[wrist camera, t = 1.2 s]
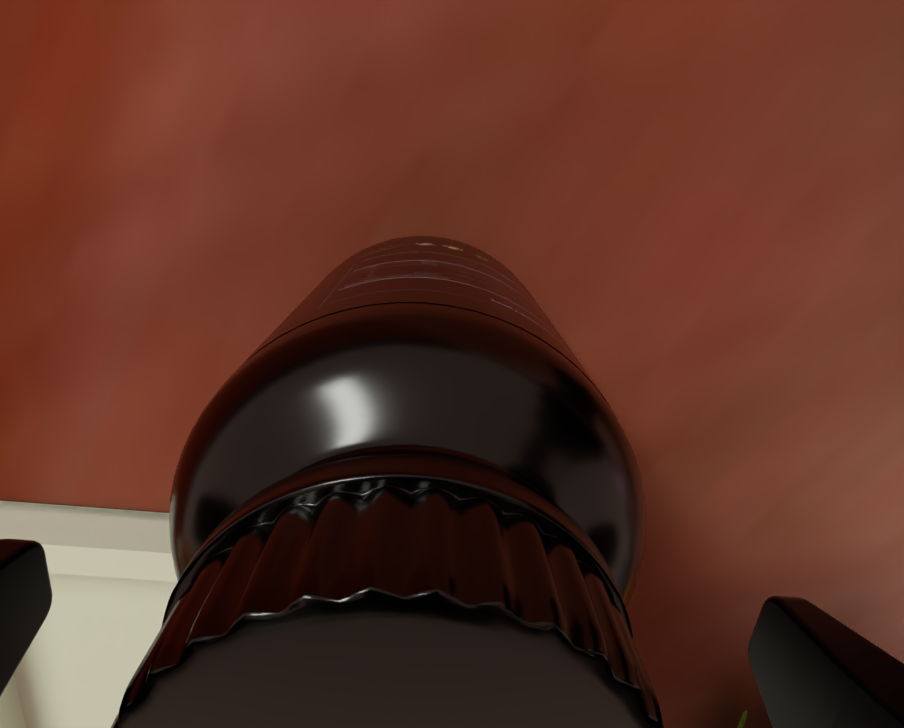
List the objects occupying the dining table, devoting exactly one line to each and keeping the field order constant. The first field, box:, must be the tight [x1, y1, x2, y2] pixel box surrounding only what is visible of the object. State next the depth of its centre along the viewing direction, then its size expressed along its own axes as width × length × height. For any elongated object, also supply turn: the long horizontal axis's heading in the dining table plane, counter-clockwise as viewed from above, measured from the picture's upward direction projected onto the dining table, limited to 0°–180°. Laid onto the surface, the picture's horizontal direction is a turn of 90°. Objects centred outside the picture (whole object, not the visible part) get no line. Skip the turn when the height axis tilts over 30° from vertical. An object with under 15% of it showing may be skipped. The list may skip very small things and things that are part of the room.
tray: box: [0, 501, 178, 728], centre depth 20 cm, size 16×16×2 cm
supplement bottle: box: [111, 236, 664, 728], centre depth 10 cm, size 7×7×12 cm
